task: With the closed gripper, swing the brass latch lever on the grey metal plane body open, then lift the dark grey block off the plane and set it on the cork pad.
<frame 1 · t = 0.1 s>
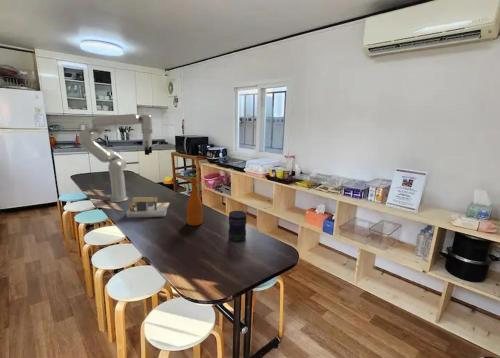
hand: (148, 153, 193), 37 cm above the table, tool pointing down, fingers open, 9 cm apart
latch lever: (145, 199, 167), point 11 cm above the table, hinge at 0.0°
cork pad: (160, 206, 186), on the table
plane body: (147, 214, 170), on the table
dark grey block: (142, 209, 168), point 4 cm above the table, touching plane body
black camera lens: (237, 239, 140), on the table
wine bottle: (194, 223, 158), on the table
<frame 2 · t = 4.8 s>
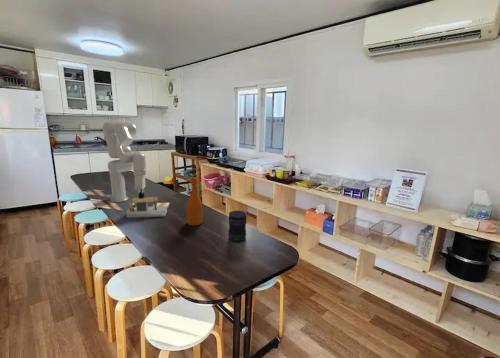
hand: (141, 198, 168), 11 cm above the table, tool pointing down, fingers closed
latch lever: (145, 199, 166), point 11 cm above the table, hinge at 6.5°, touching gripper
everything else where it was.
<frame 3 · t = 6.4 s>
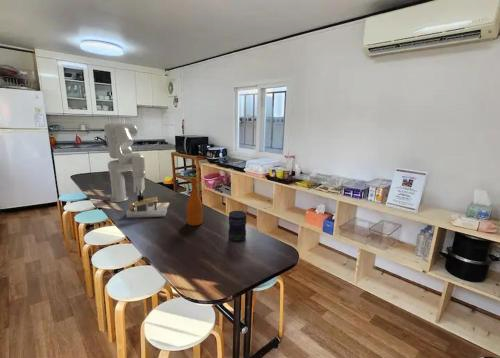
hand: (140, 201, 163), 11 cm above the table, tool pointing down, fingers closed
latch lever: (146, 201, 163), point 11 cm above the table, hinge at 40.5°, touching gripper
everything else where it was.
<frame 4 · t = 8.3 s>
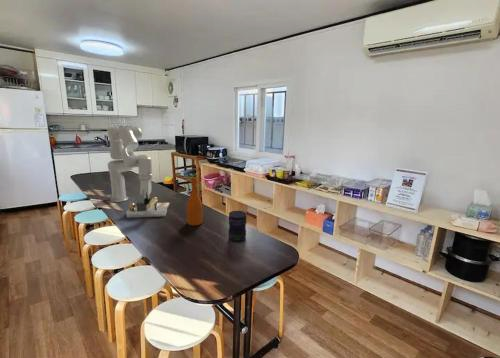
hand: (147, 204, 160), 10 cm above the table, tool pointing down, fingers closed
latch lever: (152, 202, 162), point 11 cm above the table, hinge at 84.8°, touching gripper
everything else where it was.
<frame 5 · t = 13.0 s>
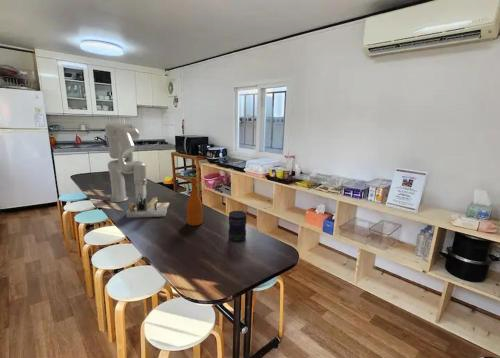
hand: (142, 207, 168), 5 cm above the table, tool pointing down, fingers closed on dark grey block, 5 cm apart
latch lever: (152, 202, 162), point 11 cm above the table, hinge at 85.7°
dark grey block: (142, 209, 168), point 4 cm above the table, touching gripper, plane body
everything else where it was.
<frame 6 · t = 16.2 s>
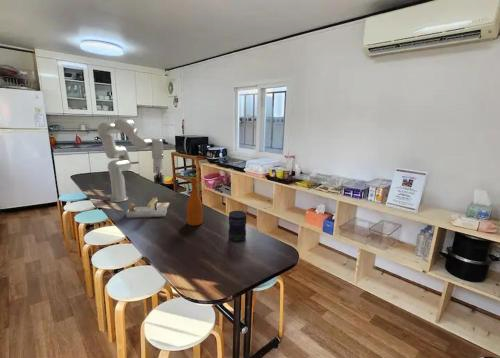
hand: (159, 181, 181), 19 cm above the table, tool pointing down, fingers closed on dark grey block, 5 cm apart
dark grey block: (159, 182, 181), point 18 cm above the table, touching gripper
everything else where it was.
when the fingers open (3 cm above the table, at t = 19.7 s): dark grey block drops 1 cm, resting on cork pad.
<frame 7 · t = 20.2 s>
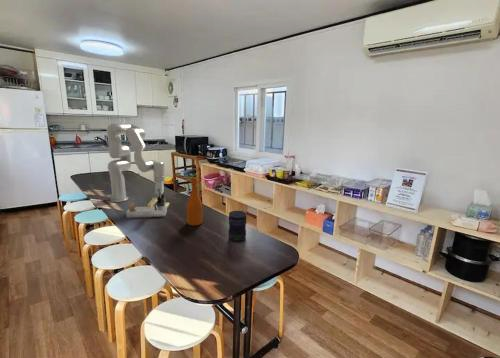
hand: (160, 201, 185), 4 cm above the table, tool pointing down, fingers open, 9 cm apart
dark grey block: (160, 205, 186), point 1 cm above the table, touching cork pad
everything else where it was.
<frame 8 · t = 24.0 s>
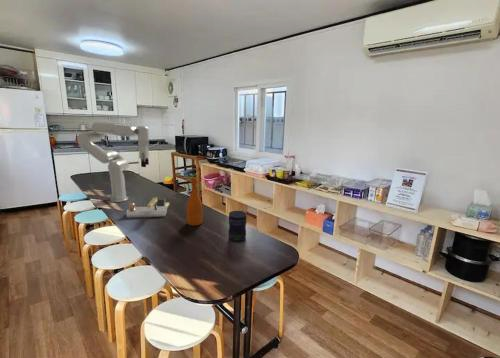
hand: (145, 165, 190), 28 cm above the table, tool pointing down, fingers open, 9 cm apart
nothing on the table moved.
at the end: latch lever at +86° (first picture: +0°); dark grey block inside the target area on the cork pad (0.1 cm from its centre), point 0.8 cm above the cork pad's base; dark grey block tilted 0° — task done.
